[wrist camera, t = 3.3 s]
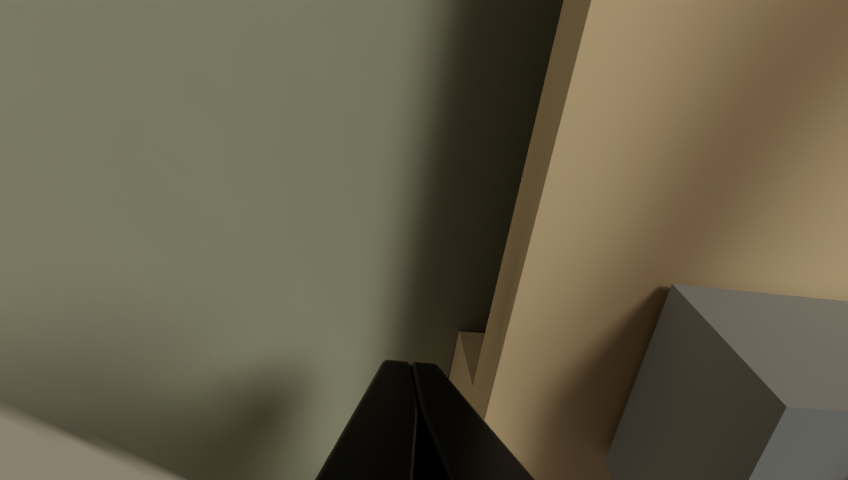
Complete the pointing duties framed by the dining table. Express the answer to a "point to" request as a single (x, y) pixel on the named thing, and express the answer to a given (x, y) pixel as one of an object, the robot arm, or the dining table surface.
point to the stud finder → (738, 391)
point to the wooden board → (657, 203)
